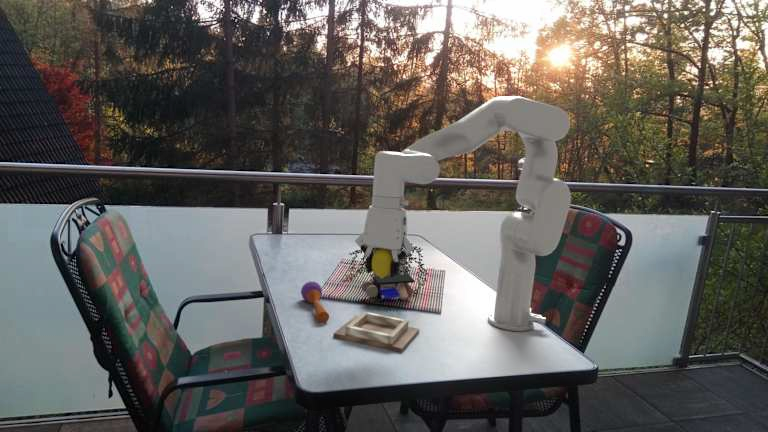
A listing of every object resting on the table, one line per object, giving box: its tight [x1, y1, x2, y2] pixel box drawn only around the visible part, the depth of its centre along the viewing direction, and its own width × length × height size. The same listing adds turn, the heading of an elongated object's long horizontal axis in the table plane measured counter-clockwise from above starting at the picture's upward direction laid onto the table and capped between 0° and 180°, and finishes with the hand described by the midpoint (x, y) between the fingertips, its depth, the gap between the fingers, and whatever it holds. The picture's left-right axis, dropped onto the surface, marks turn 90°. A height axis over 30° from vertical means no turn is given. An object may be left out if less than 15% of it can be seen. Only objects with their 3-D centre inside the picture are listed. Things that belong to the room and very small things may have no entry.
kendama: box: [300, 281, 330, 324], centre depth 155 cm, size 6×6×20 cm
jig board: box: [333, 311, 420, 353], centre depth 140 cm, size 18×14×3 cm
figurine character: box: [360, 273, 415, 303], centre depth 167 cm, size 7×8×15 cm
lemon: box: [372, 248, 393, 278], centre depth 137 cm, size 6×6×8 cm
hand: (381, 273), depth 138 cm, fingers closed on lemon, 5 cm apart
